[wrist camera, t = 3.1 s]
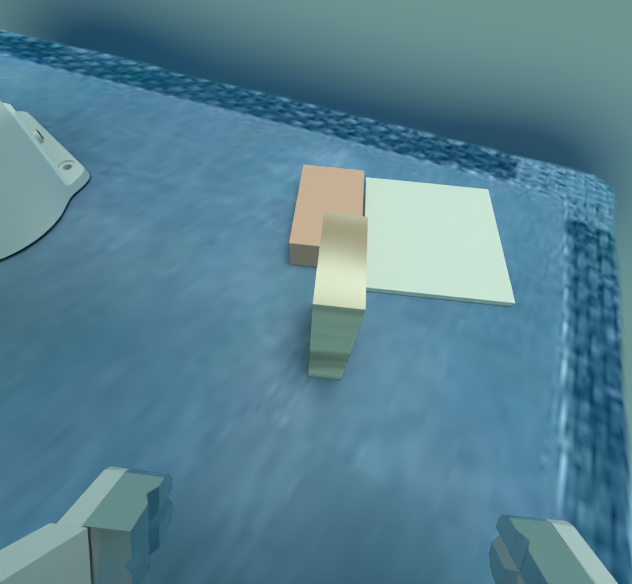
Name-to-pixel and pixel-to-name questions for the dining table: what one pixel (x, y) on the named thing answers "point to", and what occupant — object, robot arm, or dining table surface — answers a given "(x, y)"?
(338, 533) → the dining table surface
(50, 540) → the robot arm
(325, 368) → the birch block
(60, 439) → the dining table surface
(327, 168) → the terracotta step
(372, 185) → the rubber mat
